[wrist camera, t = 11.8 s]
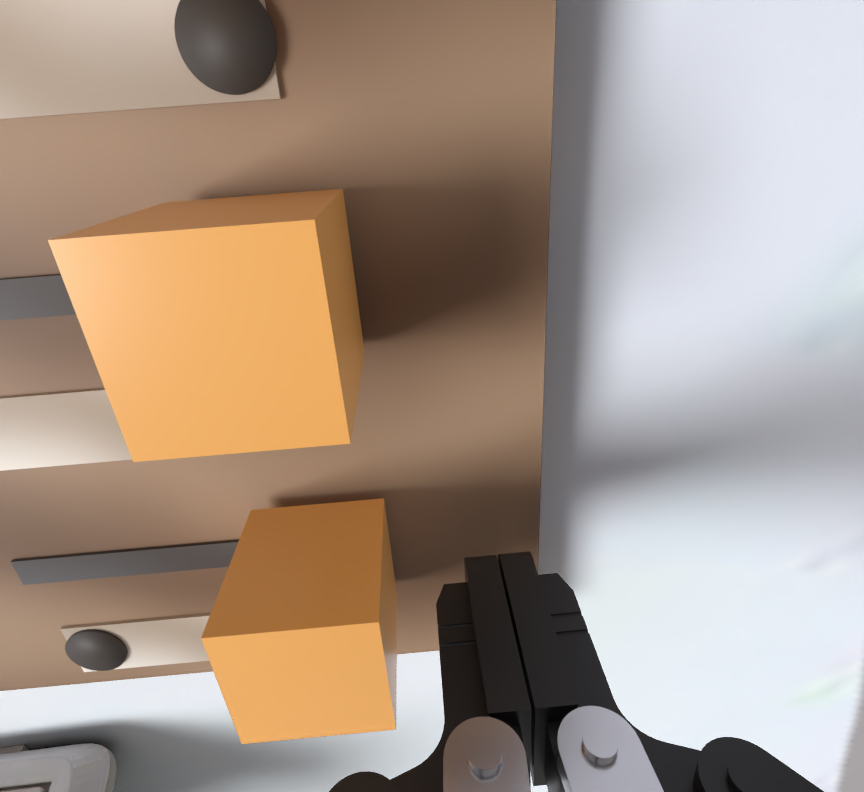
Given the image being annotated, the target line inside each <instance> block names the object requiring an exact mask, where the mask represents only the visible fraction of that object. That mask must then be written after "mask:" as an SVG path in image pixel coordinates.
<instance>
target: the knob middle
mask: <svg viewBox="0 0 864 792" xmlns="http://www.w3.org/2000/svg"><path fill="white" fill-rule="evenodd" d="M48 242H49V245H50V247H51V250H52V253H53V255H54V258H55V260H56V263H57V266H58V268H59V271H60V273H61V276H62V279H63V281H64V284H65V286H66V289H67V292H68V294H69V297H70V299H71V302H72V305H73V307H74V310H75V312H76V315H77V318H78V320H79V323H80V325H81V328H82V331H83V333H84V336H85V338H86V341H87V344H88V346H89V349H90V351H91V354H92V357H93V359H94V362H95V364H96V367H97V370H98V372H99V375H100V377H101V380H102V383H103V385H104V388H105V390H106V393H107V396H108V398H109V401H110V403H111V406H112V408H113V411H114V414H115V416H116V419H117V421H118V424H119V427H120V429H121V432H122V434H123V437H124V440H125V442H126V445H127V447H128V450H129V453H130V455H131V458H132V460H133V462H141V461H153V460H165V459H177V458H188V457H200V456H212V455H224V454H235V453H247V452H259V451H271V450H282V449H294V448H306V447H318V446H329V445H341V444H350V443H351V436H352V430H353V423H354V417H355V411H356V404H357V398H358V391H359V385H360V379H361V372H362V366H363V359H364V353H365V351H364V344H363V336H362V329H361V321H360V314H359V306H358V299H357V291H356V284H355V276H354V269H353V261H352V254H351V246H350V239H349V231H348V224H347V216H346V209H345V201H344V194H343V189H332V190H319V191H306V192H293V193H279V194H266V195H253V196H240V197H227V198H214V199H201V200H188V201H175V202H164V203H161V204H158V205H155V206H152V207H149V208H146V209H143V210H140V211H137V212H133V213H130V214H127V215H124V216H121V217H118V218H115V219H112V220H109V221H106V222H102V223H99V224H96V225H93V226H90V227H87V228H84V229H81V230H78V231H75V232H71V233H68V234H65V235H62V236H59V237H56V238H53V239H50V240H48Z"/></svg>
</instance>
